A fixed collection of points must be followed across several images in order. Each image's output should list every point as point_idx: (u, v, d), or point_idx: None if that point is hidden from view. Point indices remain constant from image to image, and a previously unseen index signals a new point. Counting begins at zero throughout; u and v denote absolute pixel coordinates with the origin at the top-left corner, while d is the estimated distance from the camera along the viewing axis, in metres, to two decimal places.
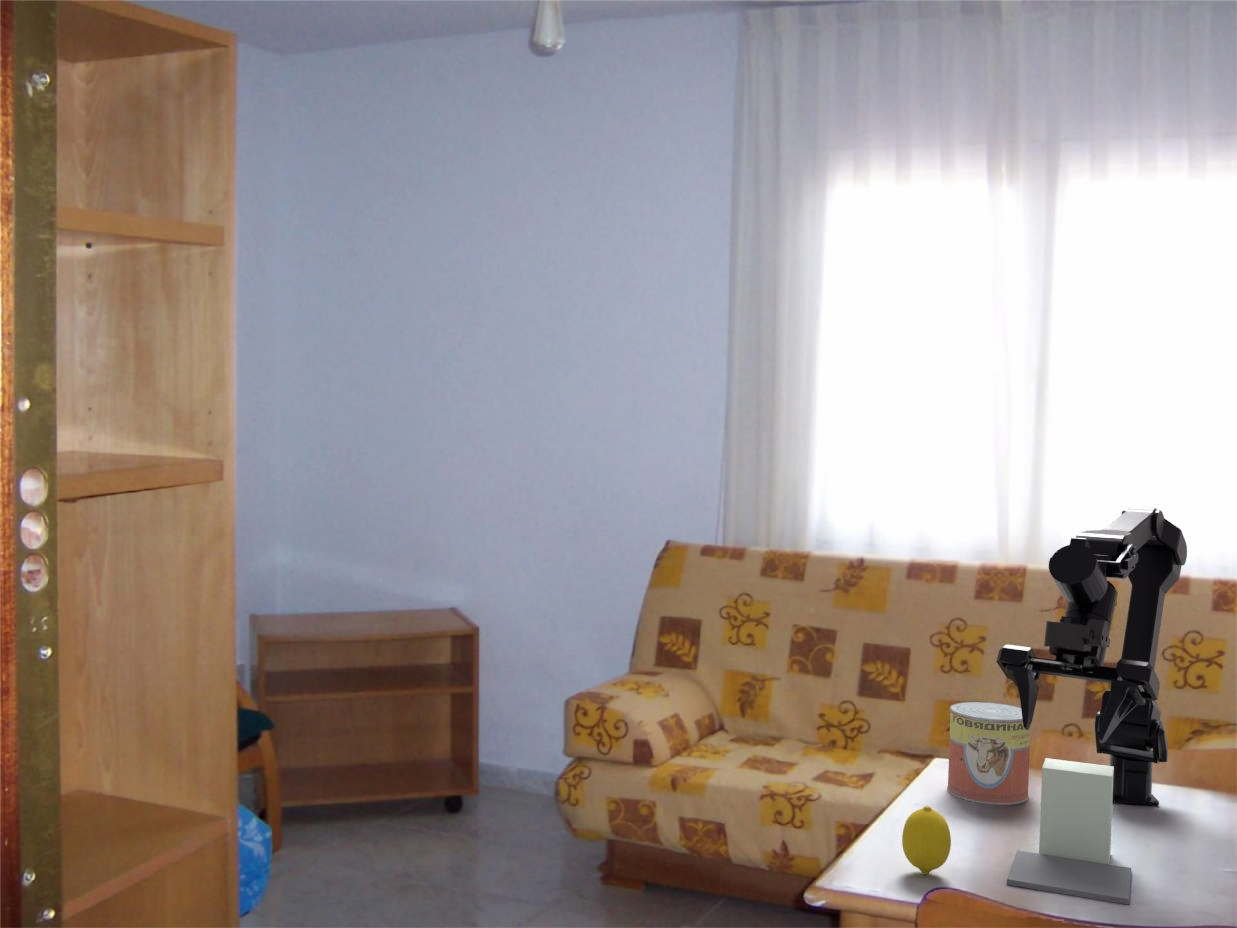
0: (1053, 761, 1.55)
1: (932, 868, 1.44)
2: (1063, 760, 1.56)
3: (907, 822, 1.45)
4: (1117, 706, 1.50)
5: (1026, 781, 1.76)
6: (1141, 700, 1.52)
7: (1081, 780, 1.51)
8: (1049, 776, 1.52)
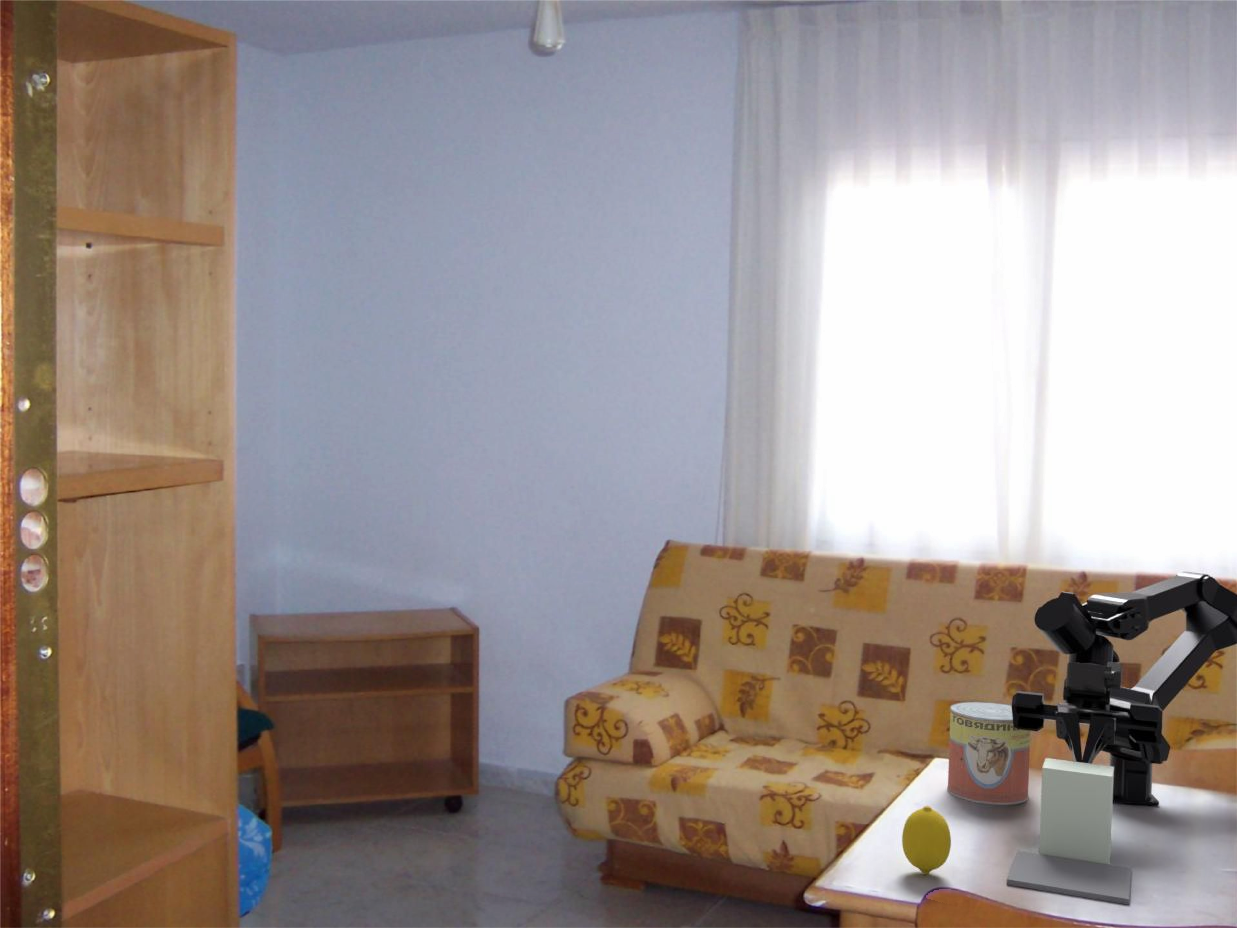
0: (1053, 761, 1.55)
1: (932, 868, 1.44)
2: (1063, 760, 1.56)
3: (907, 822, 1.45)
4: (1096, 740, 1.62)
5: (1026, 781, 1.76)
6: (1112, 738, 1.65)
7: (1081, 780, 1.51)
8: (1049, 776, 1.52)
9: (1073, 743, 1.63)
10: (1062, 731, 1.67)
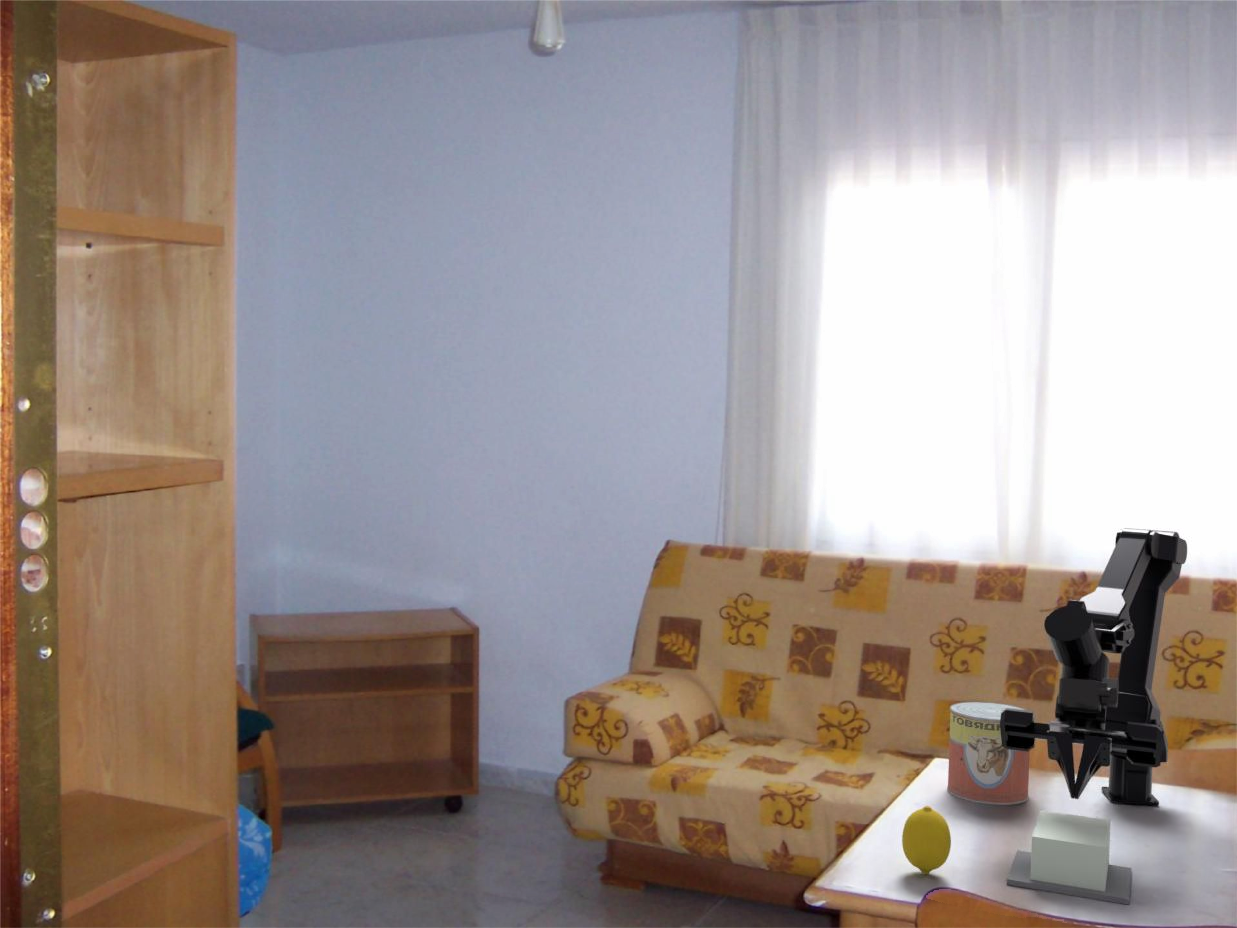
0: (1040, 848, 1.42)
1: (932, 868, 1.44)
2: (1051, 840, 1.42)
3: (907, 822, 1.45)
4: (1090, 762, 1.51)
5: (1026, 781, 1.76)
6: (1108, 760, 1.53)
7: None
8: None
9: (1066, 765, 1.51)
10: (1054, 751, 1.55)
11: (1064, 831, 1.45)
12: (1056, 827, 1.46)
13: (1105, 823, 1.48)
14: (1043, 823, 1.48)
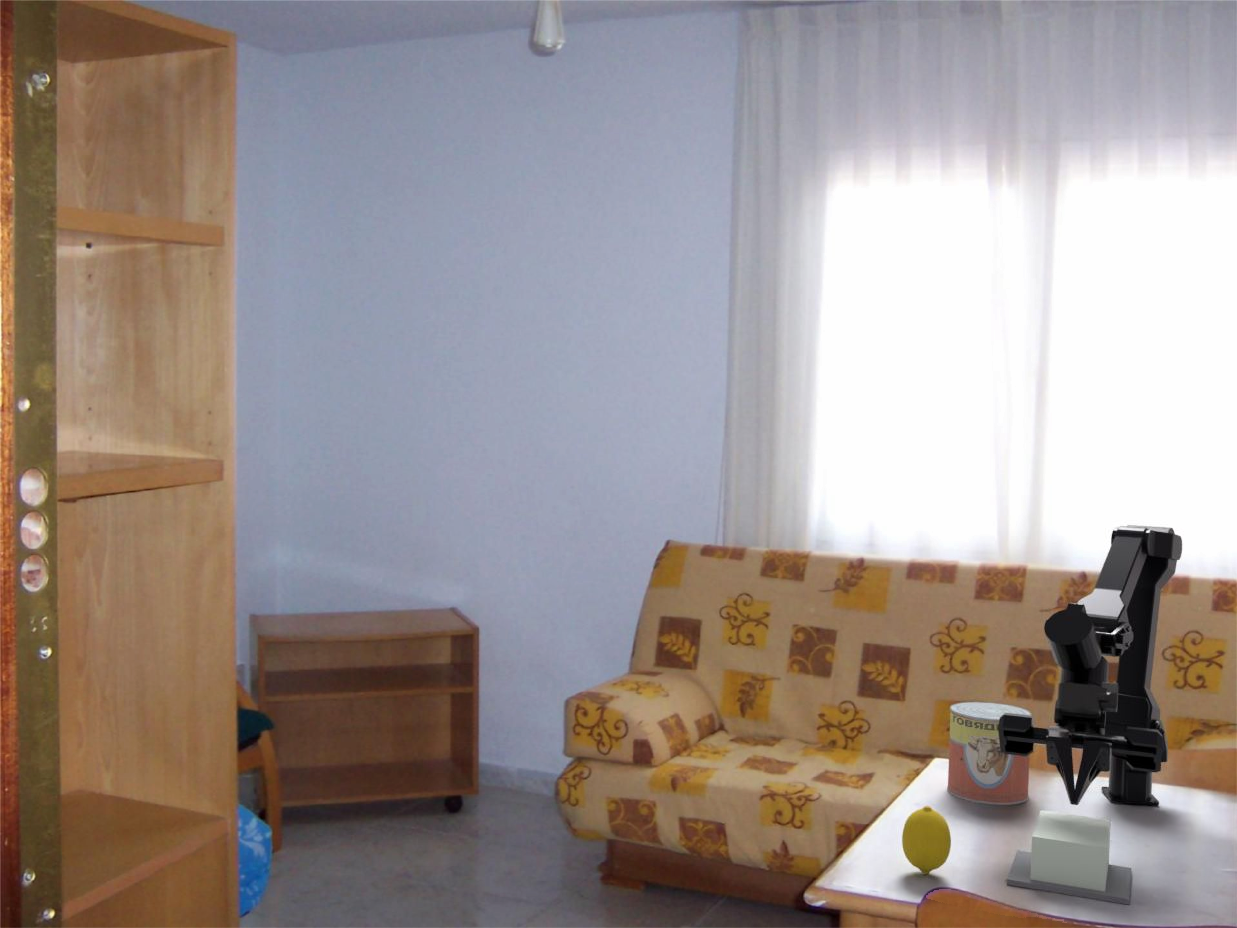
0: (1040, 848, 1.42)
1: (932, 868, 1.44)
2: (1051, 840, 1.42)
3: (907, 822, 1.45)
4: (1090, 767, 1.49)
5: (1026, 781, 1.76)
6: (1108, 765, 1.51)
7: None
8: None
9: (1065, 770, 1.50)
10: (1053, 757, 1.54)
11: (1064, 831, 1.45)
12: (1056, 827, 1.46)
13: (1105, 823, 1.48)
14: (1043, 823, 1.48)
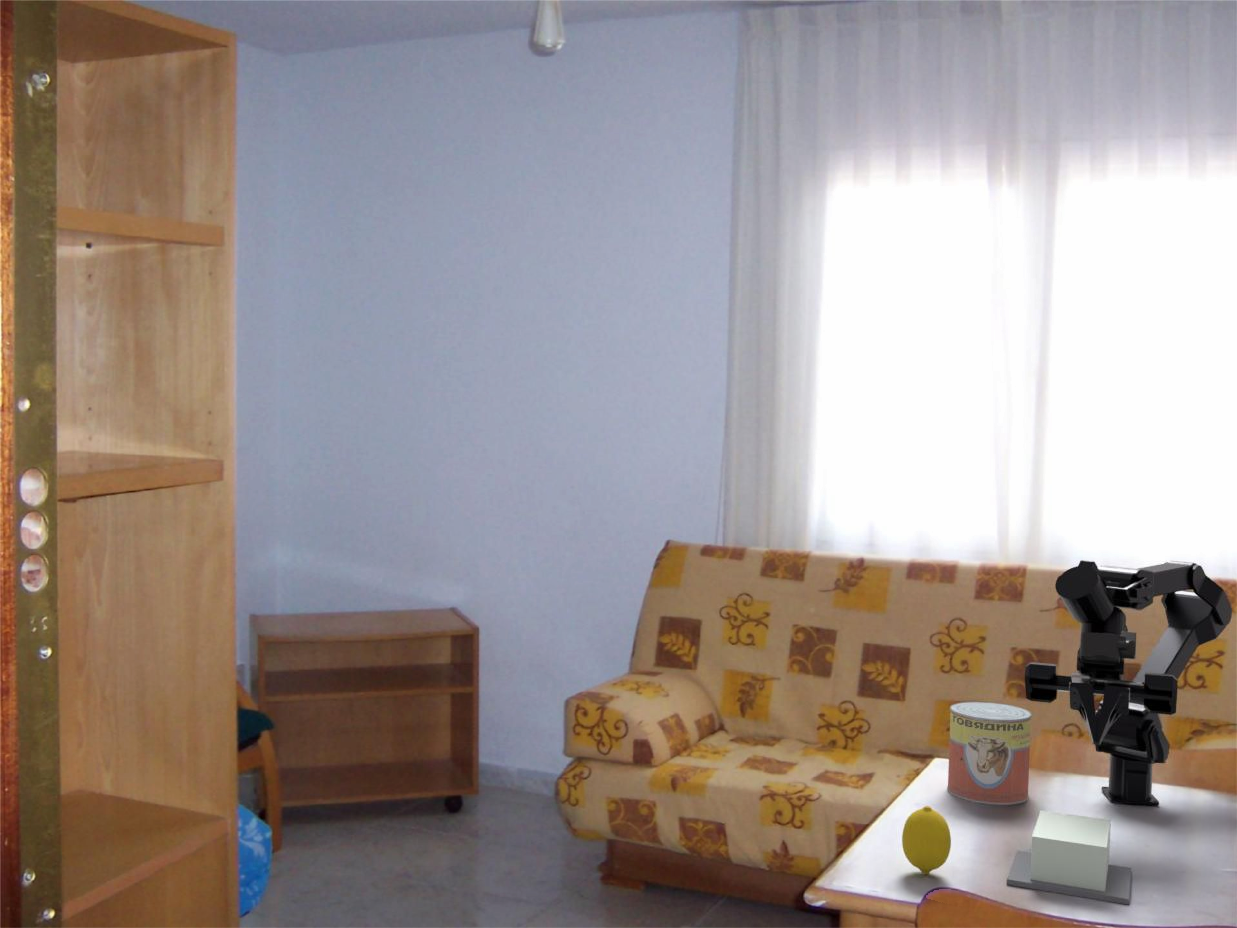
0: (1040, 848, 1.42)
1: (932, 868, 1.44)
2: (1051, 840, 1.42)
3: (907, 822, 1.45)
4: (1111, 710, 1.61)
5: (1026, 781, 1.76)
6: (1127, 708, 1.63)
7: None
8: None
9: (1087, 713, 1.62)
10: (1076, 702, 1.66)
11: (1064, 831, 1.45)
12: (1056, 827, 1.46)
13: (1105, 823, 1.48)
14: (1043, 823, 1.48)
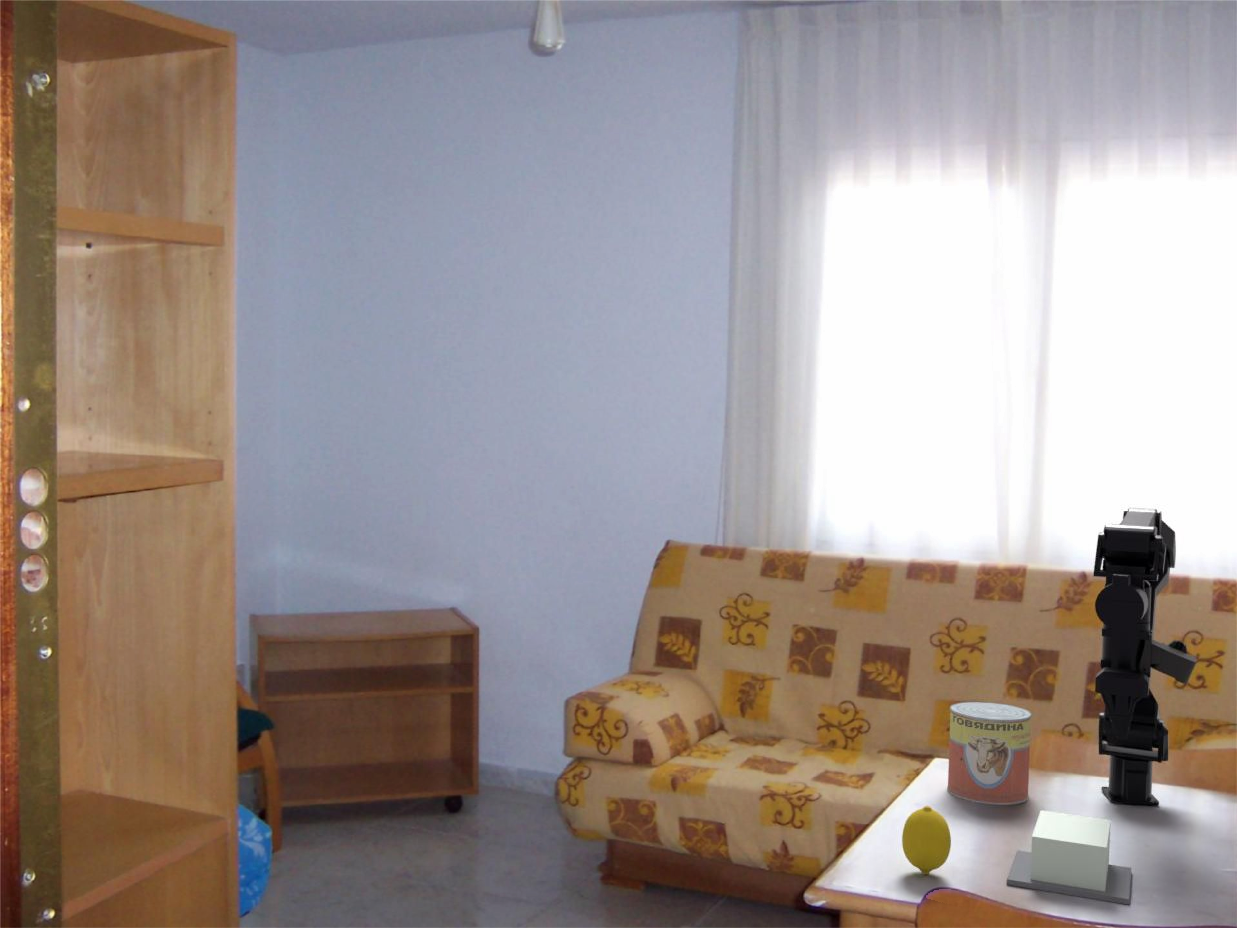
0: (1040, 848, 1.42)
1: (932, 868, 1.44)
2: (1051, 840, 1.42)
3: (907, 822, 1.45)
4: None
5: (1026, 781, 1.76)
6: None
7: None
8: None
9: (1132, 714, 1.62)
10: None
11: (1064, 831, 1.45)
12: (1056, 827, 1.46)
13: (1105, 823, 1.48)
14: (1043, 823, 1.48)
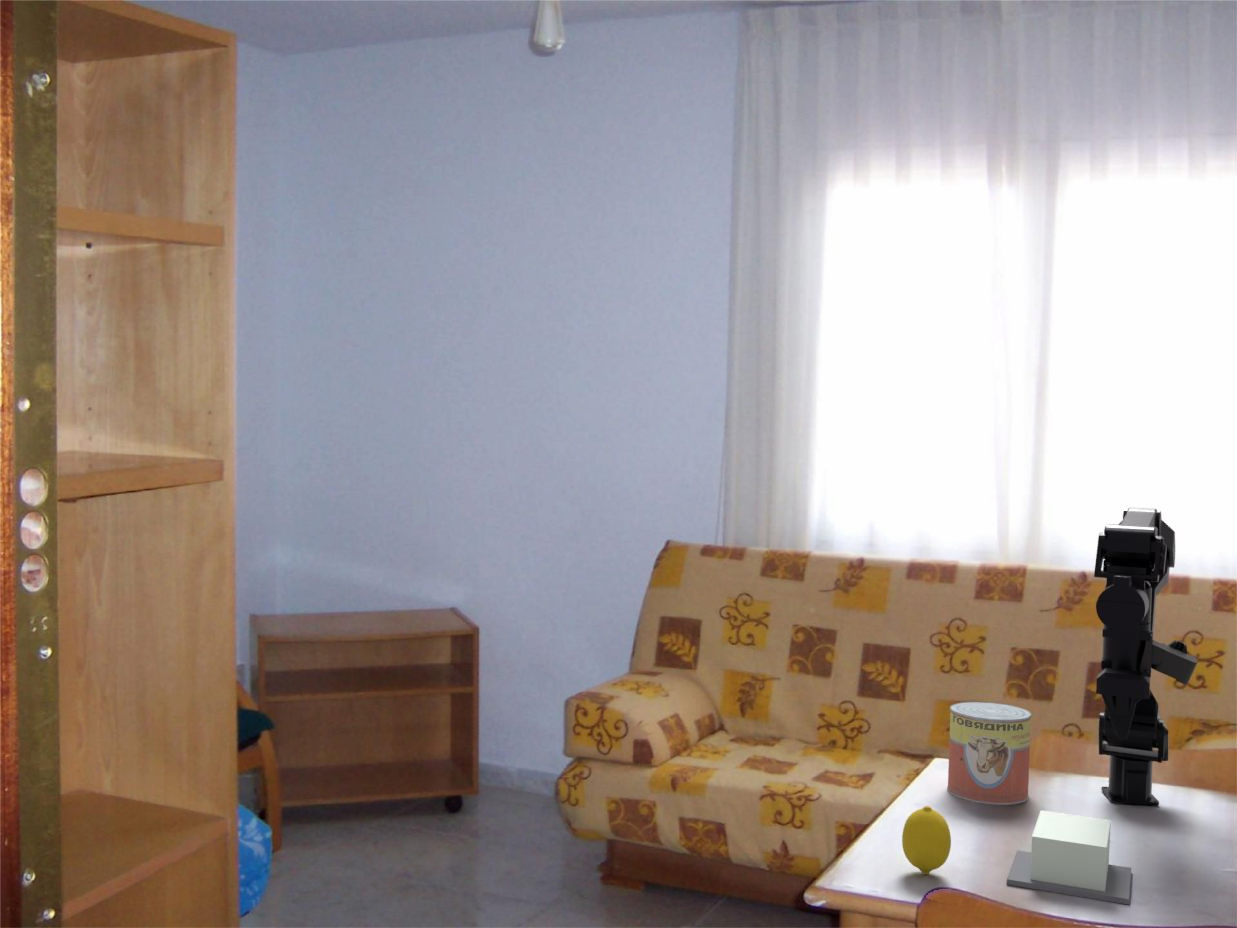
0: (1040, 848, 1.42)
1: (932, 868, 1.44)
2: (1051, 840, 1.42)
3: (907, 822, 1.45)
4: None
5: (1026, 781, 1.76)
6: None
7: None
8: None
9: (1132, 715, 1.62)
10: None
11: (1064, 831, 1.45)
12: (1056, 827, 1.46)
13: (1105, 823, 1.48)
14: (1043, 823, 1.48)
